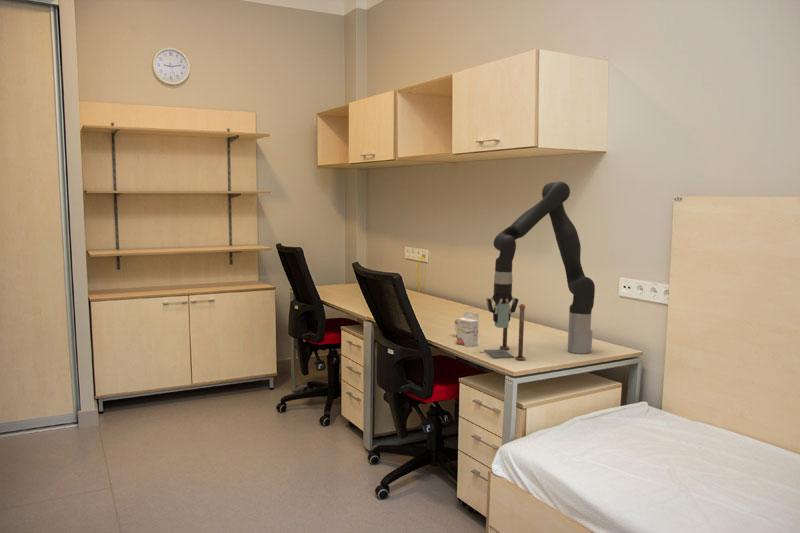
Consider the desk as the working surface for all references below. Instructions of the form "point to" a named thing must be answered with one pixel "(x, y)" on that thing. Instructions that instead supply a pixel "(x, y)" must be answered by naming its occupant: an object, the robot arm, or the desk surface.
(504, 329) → the post
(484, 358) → the desk surface
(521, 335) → the post
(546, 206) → the robot arm
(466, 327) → the ink cartridge box
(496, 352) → the mat
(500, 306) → the block
